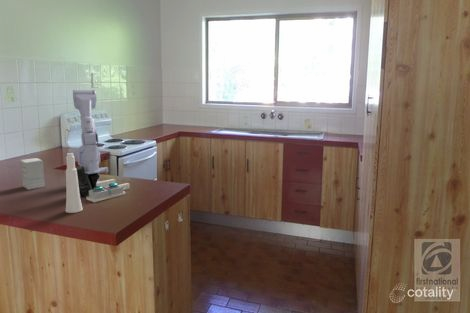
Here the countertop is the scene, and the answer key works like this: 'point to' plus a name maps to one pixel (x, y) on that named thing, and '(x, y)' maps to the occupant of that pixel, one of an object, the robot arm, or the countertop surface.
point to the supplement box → (32, 173)
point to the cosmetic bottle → (72, 186)
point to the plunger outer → (98, 188)
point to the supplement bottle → (83, 181)
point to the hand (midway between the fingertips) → (93, 190)
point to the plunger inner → (113, 185)
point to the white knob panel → (107, 191)
